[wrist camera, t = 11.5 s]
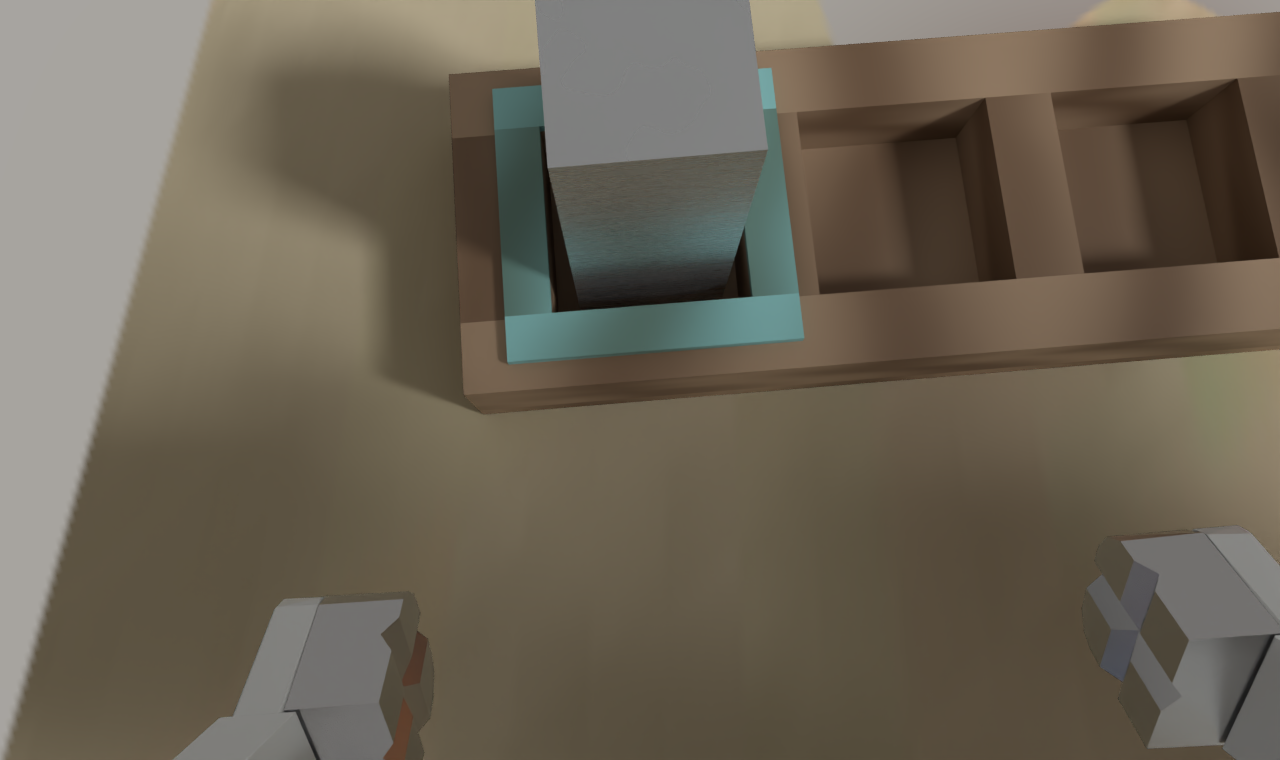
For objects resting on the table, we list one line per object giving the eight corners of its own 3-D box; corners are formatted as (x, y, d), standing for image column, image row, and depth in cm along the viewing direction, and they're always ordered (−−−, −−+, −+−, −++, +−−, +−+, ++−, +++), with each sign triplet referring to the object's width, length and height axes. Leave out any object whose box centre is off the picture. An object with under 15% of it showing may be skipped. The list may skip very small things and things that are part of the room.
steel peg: (705, 174, 27) (743, -46, 17) (720, 304, 26) (768, 149, 17) (571, 186, 27) (533, -30, 17) (582, 316, 26) (547, 168, 17)
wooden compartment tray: (1238, 67, 29) (1315, 3, 25) (1304, 347, 27) (1395, 317, 24) (469, 126, 28) (446, 68, 25) (483, 414, 26) (461, 392, 23)
